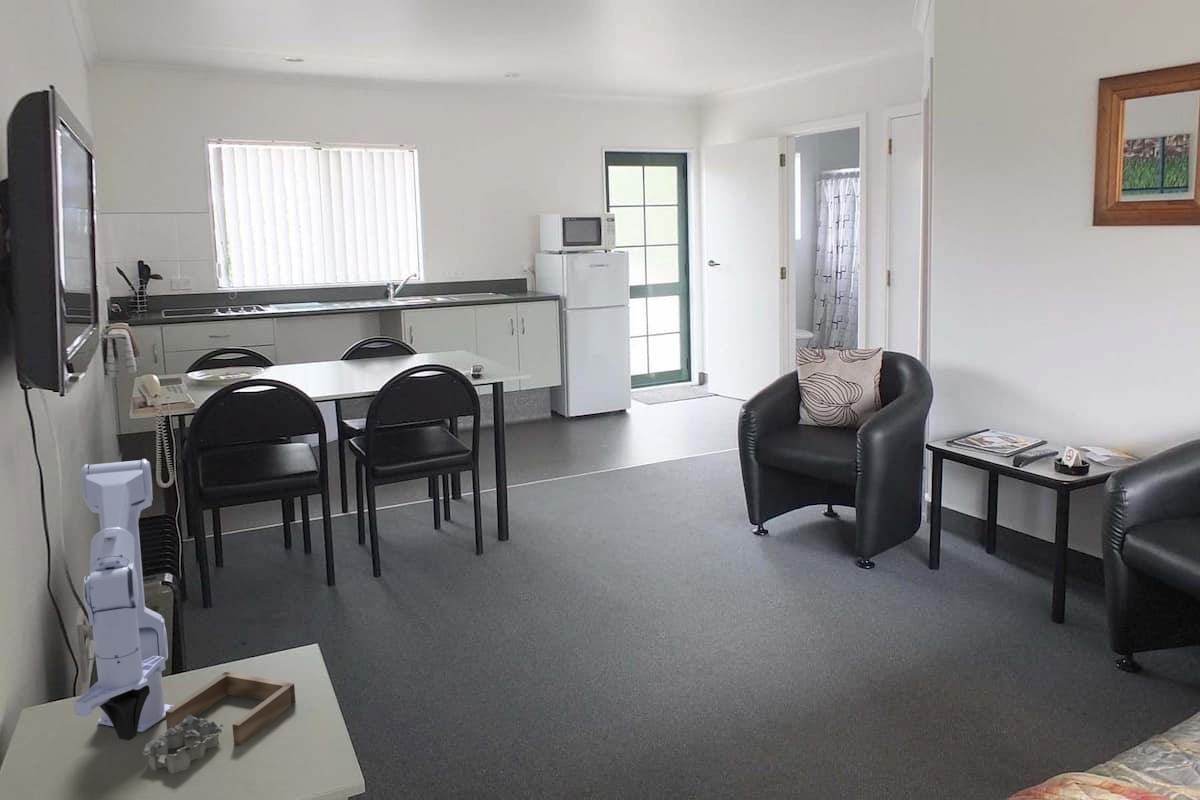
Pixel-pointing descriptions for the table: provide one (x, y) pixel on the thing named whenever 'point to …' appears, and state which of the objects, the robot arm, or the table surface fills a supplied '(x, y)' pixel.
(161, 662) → the robot arm
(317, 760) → the table surface
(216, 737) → the egg carton
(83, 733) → the table surface
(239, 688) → the walnut u-shaped frame
